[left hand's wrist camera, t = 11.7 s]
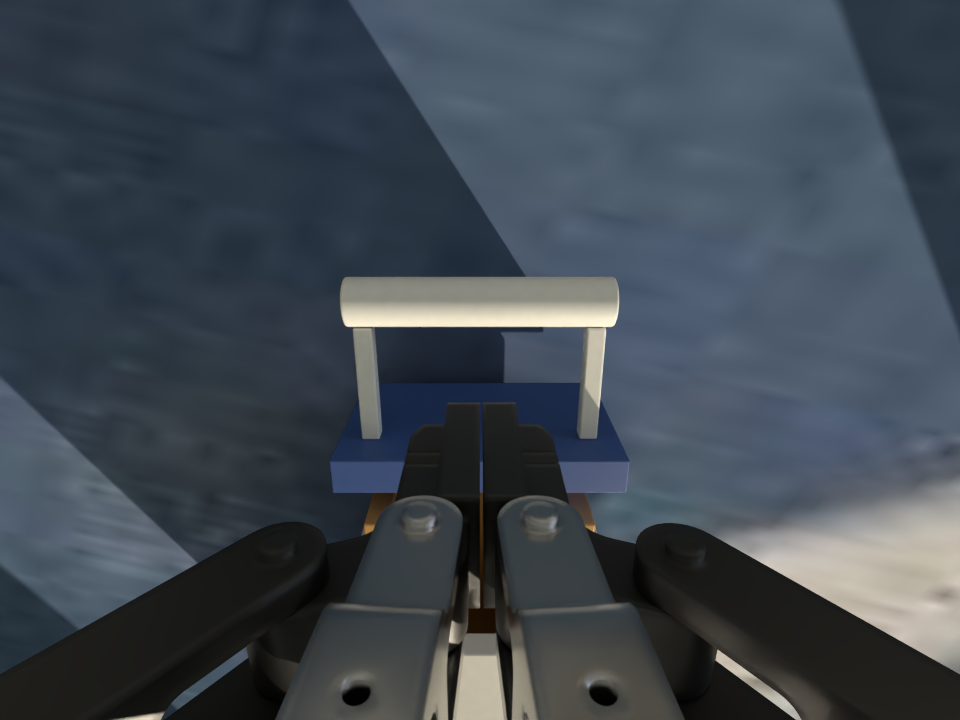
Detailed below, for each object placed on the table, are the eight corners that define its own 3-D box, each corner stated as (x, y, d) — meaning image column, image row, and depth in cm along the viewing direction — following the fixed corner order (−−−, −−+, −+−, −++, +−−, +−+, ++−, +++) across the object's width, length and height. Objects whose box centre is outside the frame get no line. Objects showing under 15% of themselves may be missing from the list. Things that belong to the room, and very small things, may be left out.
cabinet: (368, 510, 27) (324, 654, 19) (590, 510, 27) (634, 654, 19) (388, 744, 33) (361, 924, 25) (570, 744, 33) (597, 923, 25)
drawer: (355, 250, 21) (309, 290, 15) (603, 250, 21) (649, 290, 15) (387, 653, 29) (365, 779, 23) (571, 652, 29) (593, 779, 23)
